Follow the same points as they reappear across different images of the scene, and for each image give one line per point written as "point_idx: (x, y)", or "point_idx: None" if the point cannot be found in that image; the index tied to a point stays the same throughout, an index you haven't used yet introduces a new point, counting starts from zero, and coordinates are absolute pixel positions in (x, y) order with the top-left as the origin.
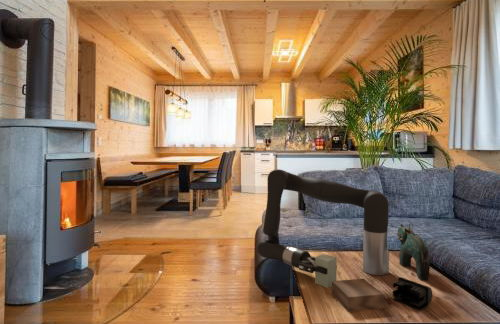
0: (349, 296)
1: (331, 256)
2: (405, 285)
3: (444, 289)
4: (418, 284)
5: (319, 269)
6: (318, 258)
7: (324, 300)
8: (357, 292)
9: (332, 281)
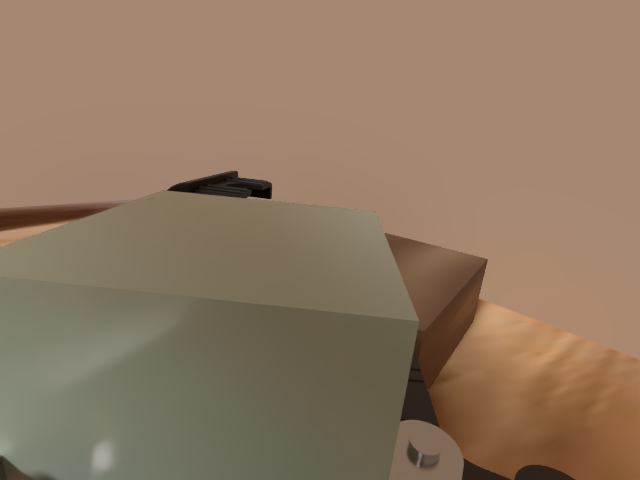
0: (478, 258)
1: (144, 207)
2: None
3: (67, 215)
4: (224, 175)
5: (426, 409)
6: (399, 283)
7: (530, 423)
8: (411, 250)
9: (425, 328)
